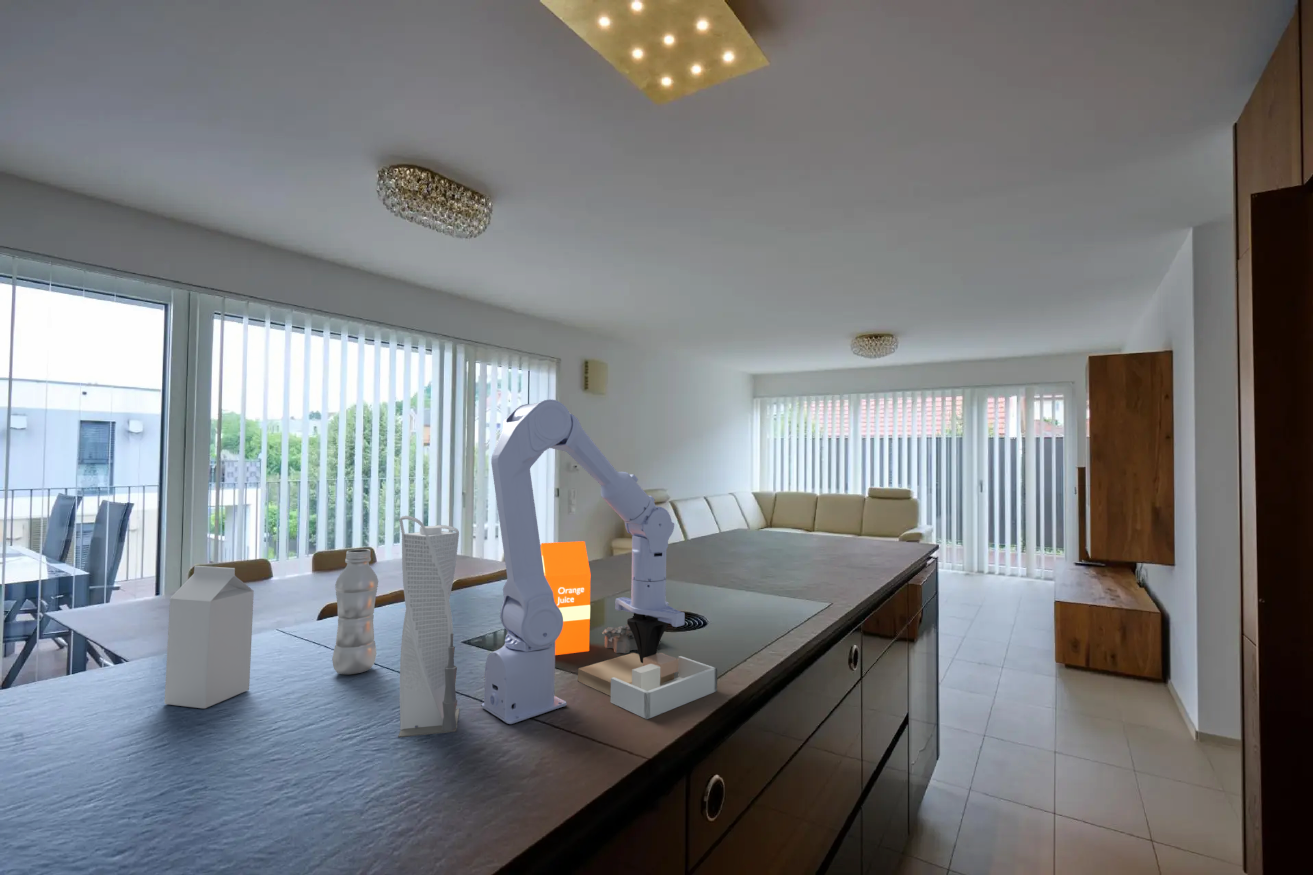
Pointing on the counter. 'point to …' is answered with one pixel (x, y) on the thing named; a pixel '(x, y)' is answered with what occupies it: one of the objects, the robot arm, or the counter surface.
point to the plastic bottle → (355, 614)
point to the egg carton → (620, 639)
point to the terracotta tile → (662, 663)
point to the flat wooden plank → (612, 672)
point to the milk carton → (209, 639)
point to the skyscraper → (428, 632)
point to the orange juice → (569, 592)
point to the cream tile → (646, 677)
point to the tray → (666, 690)
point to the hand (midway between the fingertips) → (647, 661)
